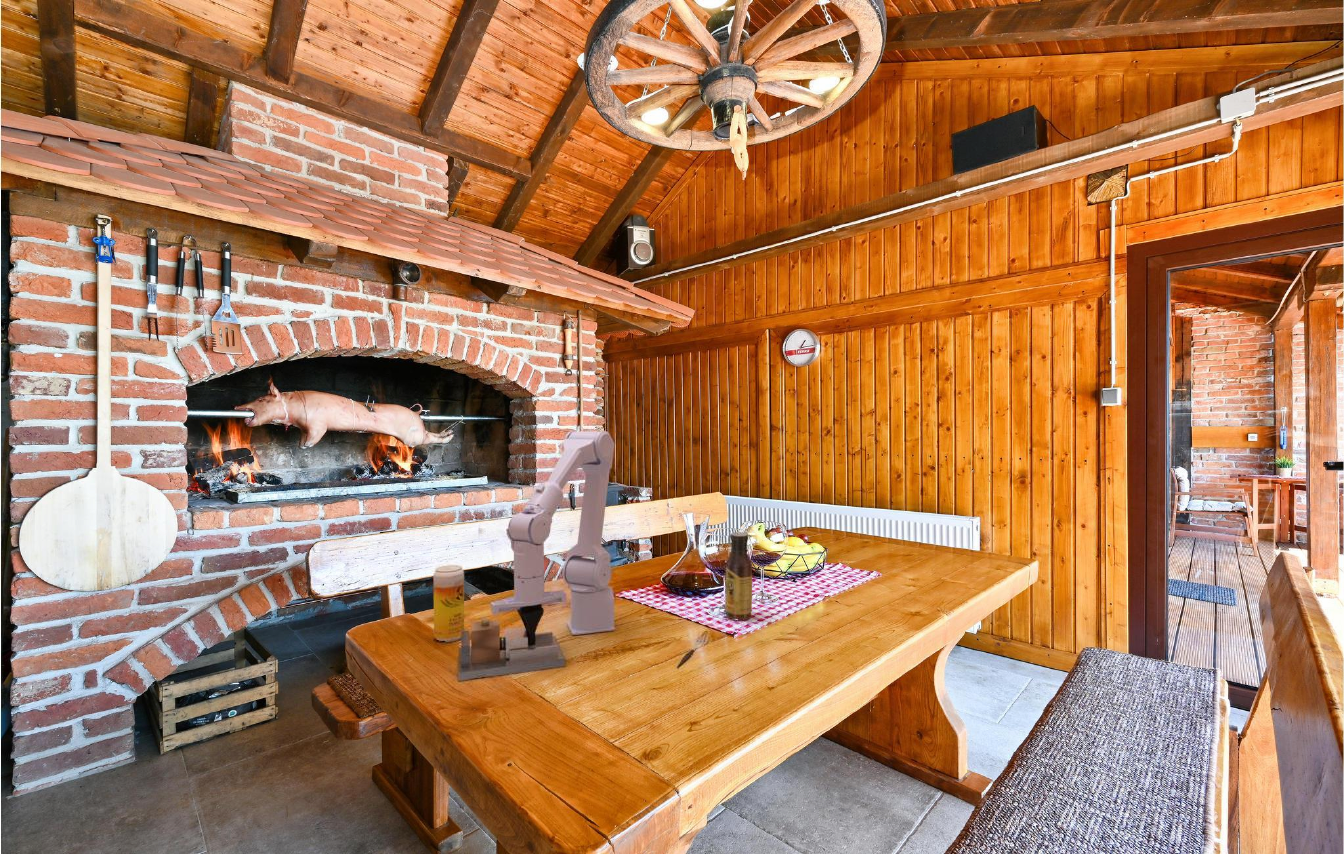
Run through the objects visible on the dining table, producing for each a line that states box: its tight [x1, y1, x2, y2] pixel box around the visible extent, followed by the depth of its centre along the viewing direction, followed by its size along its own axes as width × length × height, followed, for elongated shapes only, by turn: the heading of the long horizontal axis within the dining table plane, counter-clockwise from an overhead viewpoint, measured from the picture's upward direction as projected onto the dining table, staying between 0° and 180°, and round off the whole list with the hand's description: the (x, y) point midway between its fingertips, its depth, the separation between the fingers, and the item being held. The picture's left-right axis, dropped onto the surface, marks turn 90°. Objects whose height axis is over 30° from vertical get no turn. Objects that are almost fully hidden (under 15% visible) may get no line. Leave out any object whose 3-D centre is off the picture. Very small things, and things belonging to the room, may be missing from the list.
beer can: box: [433, 564, 465, 643], centre depth 127 cm, size 6×6×15 cm
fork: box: [676, 630, 710, 669], centre depth 119 cm, size 3×16×2 cm, turn 158°
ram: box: [500, 626, 528, 658], centre depth 115 cm, size 5×6×4 cm
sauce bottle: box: [724, 531, 753, 621], centre depth 140 cm, size 7×6×20 cm
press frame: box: [457, 630, 566, 682], centre depth 115 cm, size 19×12×6 cm, turn 109°
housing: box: [470, 617, 501, 663], centre depth 114 cm, size 5×5×7 cm
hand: (530, 643), depth 116 cm, fingers closed, pressing on ram
